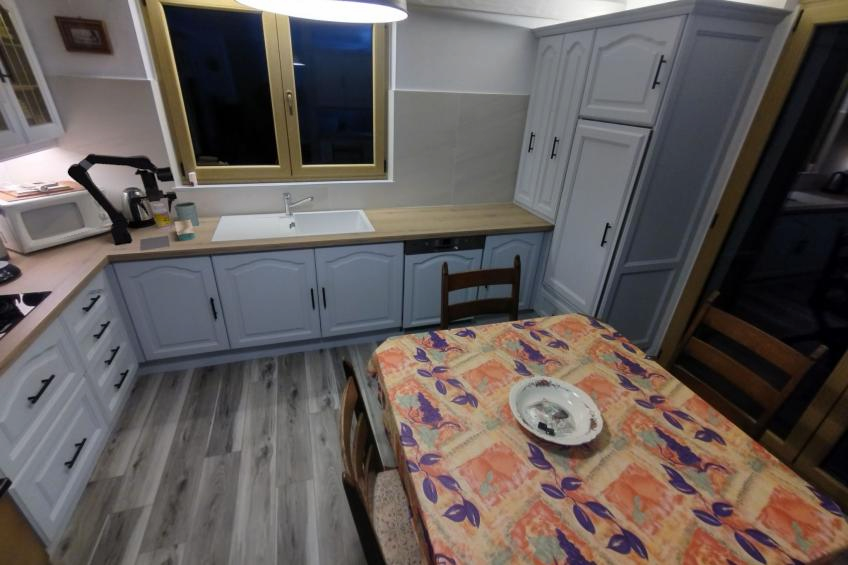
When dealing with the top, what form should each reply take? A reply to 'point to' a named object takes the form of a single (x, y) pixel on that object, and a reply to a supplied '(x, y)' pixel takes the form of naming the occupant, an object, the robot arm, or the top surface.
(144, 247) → the mat
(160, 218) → the supplement bottle
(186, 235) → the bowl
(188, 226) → the cover board
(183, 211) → the grey-green cup
